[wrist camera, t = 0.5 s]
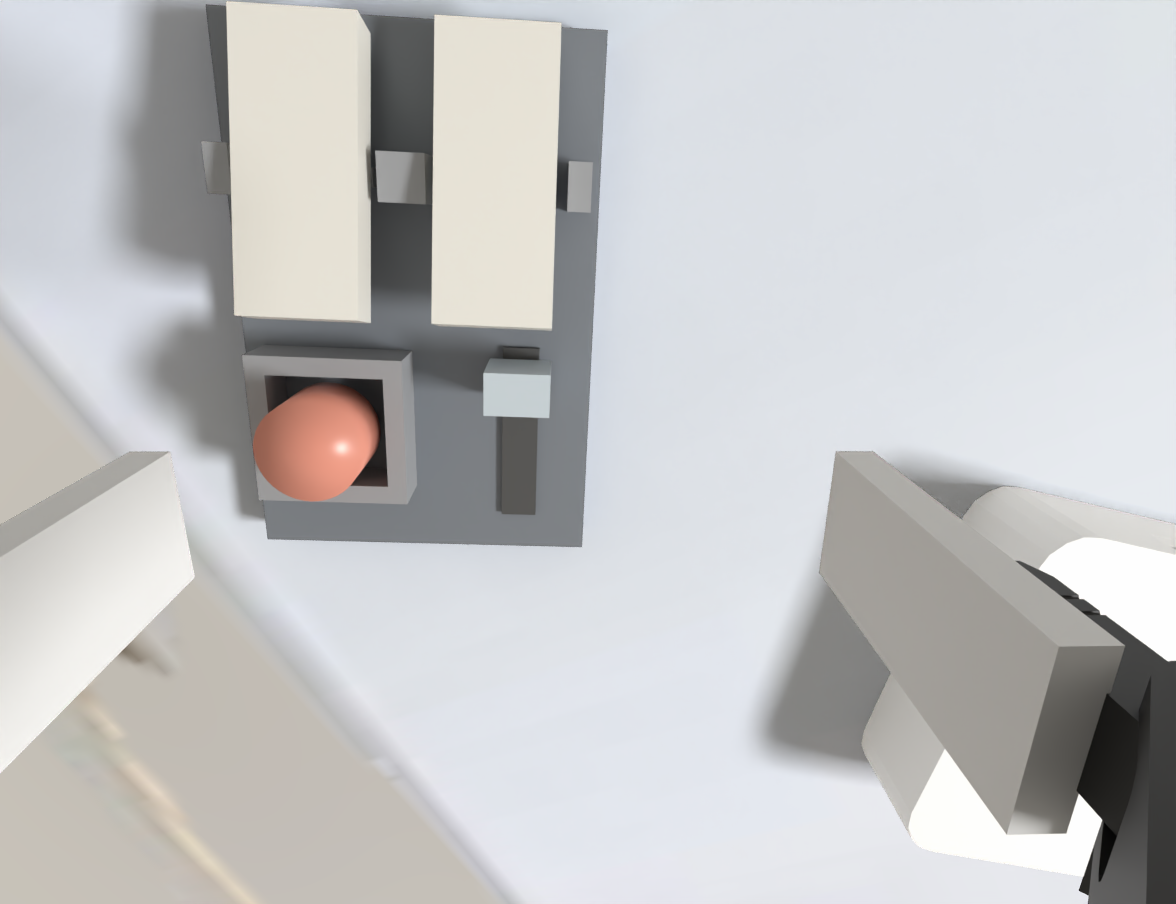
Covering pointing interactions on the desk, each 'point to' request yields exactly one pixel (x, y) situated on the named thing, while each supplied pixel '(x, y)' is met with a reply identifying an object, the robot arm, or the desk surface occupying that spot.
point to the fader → (517, 388)
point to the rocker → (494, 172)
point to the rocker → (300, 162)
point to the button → (317, 441)
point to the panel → (438, 331)
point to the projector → (1097, 574)
